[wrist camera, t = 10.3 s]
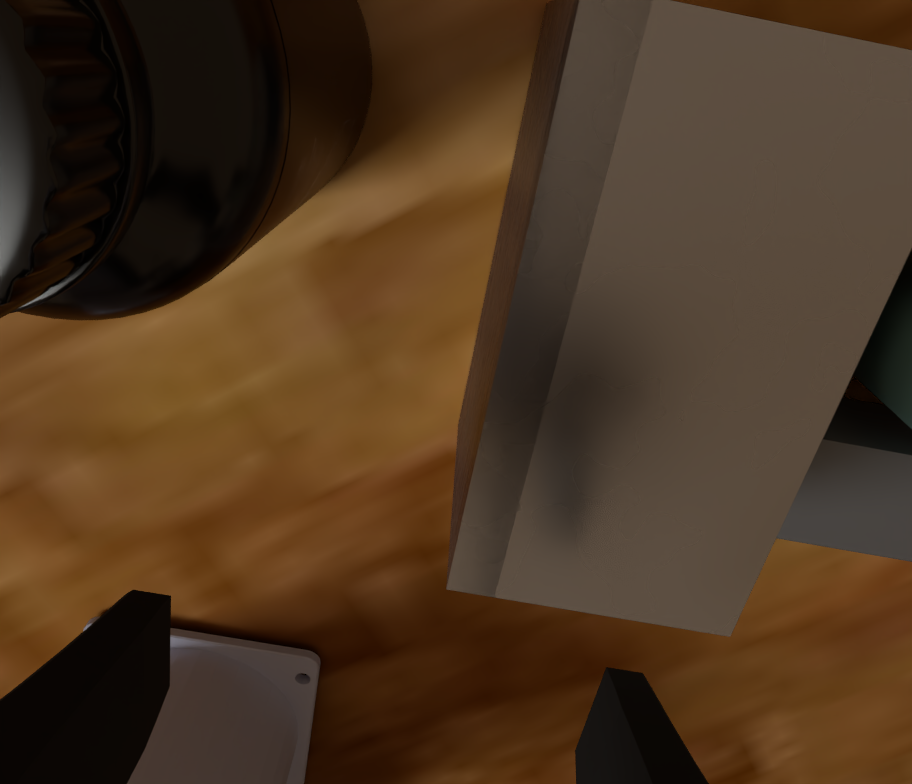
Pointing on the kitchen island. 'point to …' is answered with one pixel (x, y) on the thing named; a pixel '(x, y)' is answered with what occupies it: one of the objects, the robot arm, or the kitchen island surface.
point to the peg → (892, 351)
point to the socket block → (858, 484)
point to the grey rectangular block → (674, 304)
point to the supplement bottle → (163, 140)
